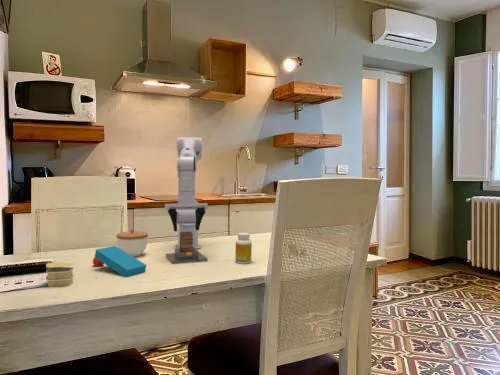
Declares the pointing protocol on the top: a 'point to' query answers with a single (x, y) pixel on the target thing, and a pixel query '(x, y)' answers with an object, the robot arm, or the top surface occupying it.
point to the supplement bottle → (243, 248)
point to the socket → (186, 256)
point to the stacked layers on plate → (59, 274)
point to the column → (186, 241)
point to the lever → (118, 261)
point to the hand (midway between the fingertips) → (186, 230)
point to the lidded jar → (132, 242)
